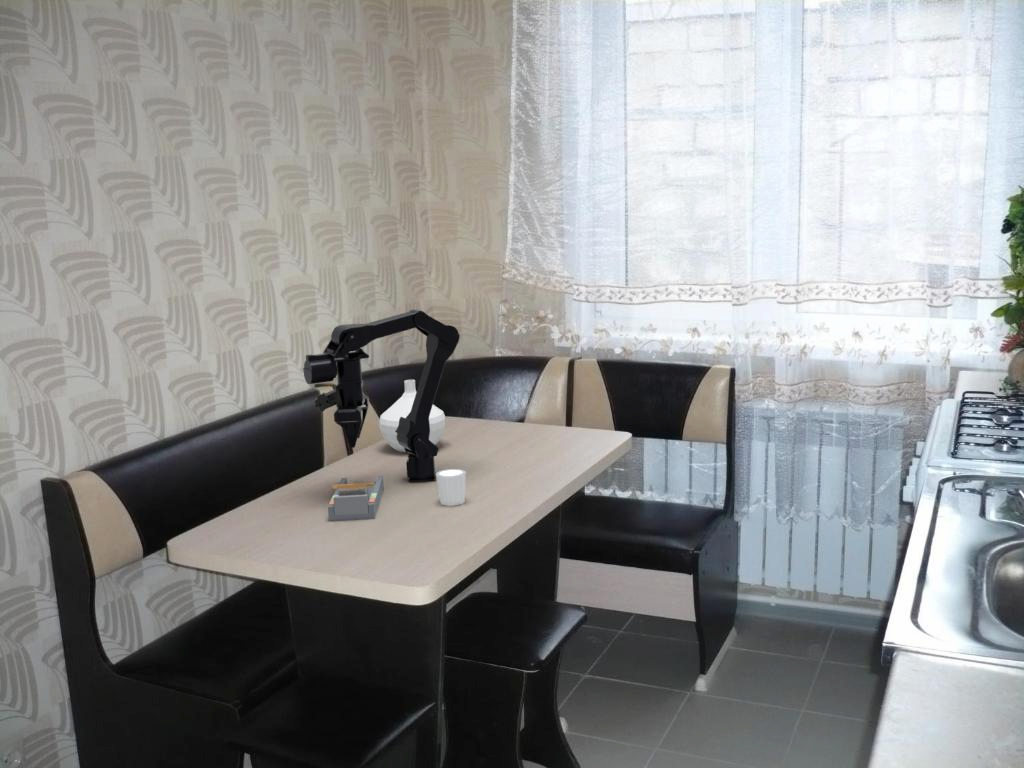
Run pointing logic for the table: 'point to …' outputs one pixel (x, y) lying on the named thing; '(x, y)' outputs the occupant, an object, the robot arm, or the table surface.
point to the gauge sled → (353, 489)
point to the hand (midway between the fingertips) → (354, 442)
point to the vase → (402, 409)
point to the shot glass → (451, 486)
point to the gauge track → (356, 503)
